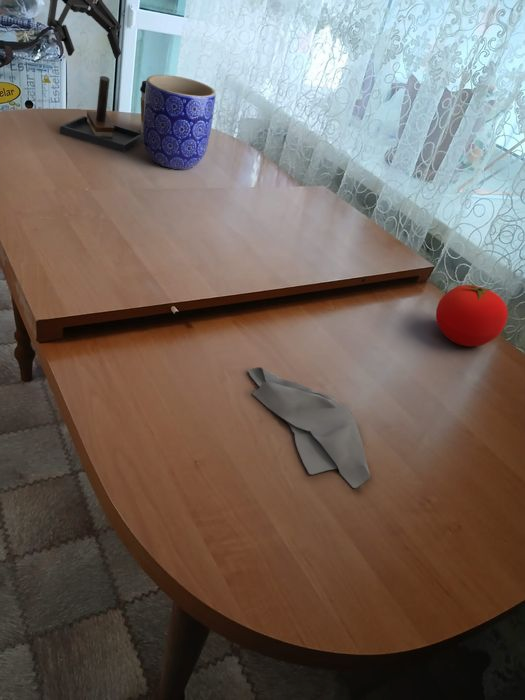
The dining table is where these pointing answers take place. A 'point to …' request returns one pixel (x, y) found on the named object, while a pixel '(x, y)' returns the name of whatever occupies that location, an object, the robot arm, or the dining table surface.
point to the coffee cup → (142, 102)
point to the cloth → (316, 426)
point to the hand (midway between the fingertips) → (95, 54)
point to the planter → (177, 120)
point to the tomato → (471, 315)
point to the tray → (119, 141)
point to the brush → (101, 112)
